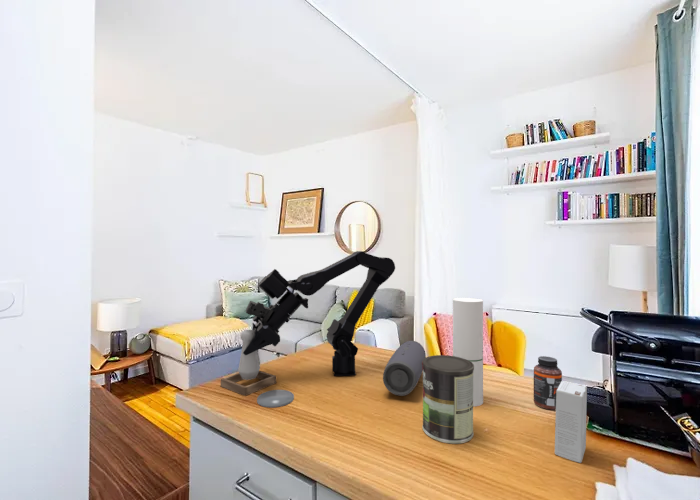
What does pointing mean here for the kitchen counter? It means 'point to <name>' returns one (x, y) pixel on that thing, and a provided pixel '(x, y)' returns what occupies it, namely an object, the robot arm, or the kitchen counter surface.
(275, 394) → the coaster
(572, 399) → the skincare box
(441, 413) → the coffee can
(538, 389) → the supplement bottle
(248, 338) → the salt shaker
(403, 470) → the kitchen counter surface
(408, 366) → the bluetooth speaker
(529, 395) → the kitchen counter surface
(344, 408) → the kitchen counter surface
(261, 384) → the square wooden frame
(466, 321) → the cylindrical container
